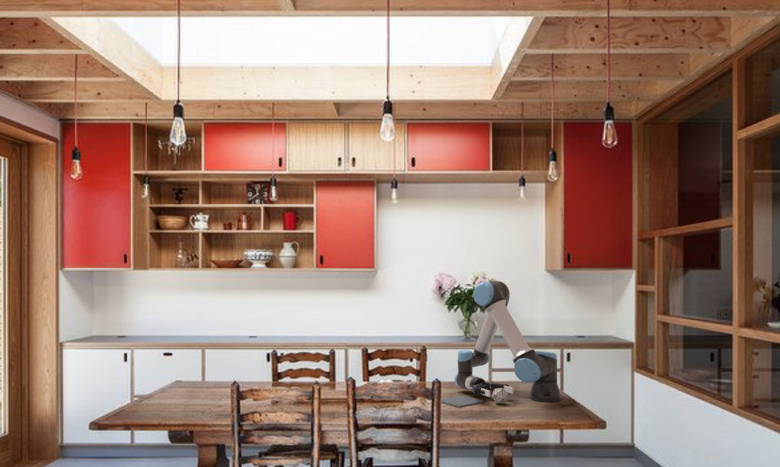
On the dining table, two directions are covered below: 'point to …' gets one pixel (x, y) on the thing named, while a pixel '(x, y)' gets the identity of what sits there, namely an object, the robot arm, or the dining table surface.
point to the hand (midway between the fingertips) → (501, 392)
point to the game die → (499, 395)
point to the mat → (460, 401)
